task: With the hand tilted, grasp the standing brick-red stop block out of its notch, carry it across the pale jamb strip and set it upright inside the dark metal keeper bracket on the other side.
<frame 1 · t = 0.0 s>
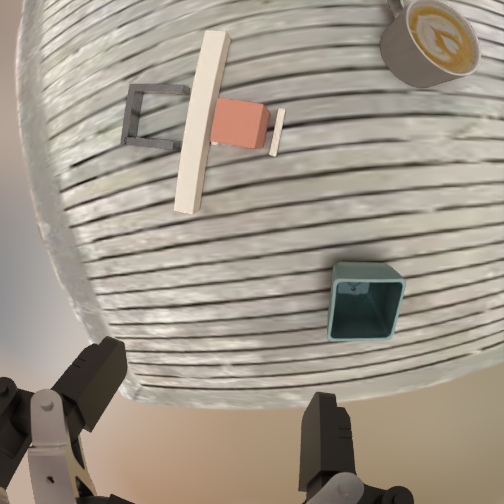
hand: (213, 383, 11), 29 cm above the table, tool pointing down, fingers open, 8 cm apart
keeper bracket: (159, 116, 34), on the table
coffee mug: (408, 44, 26), on the table
flower pot: (353, 277, 40), on the table
stop block: (249, 127, 34), on the table
jamb strip: (204, 120, 34), on the table
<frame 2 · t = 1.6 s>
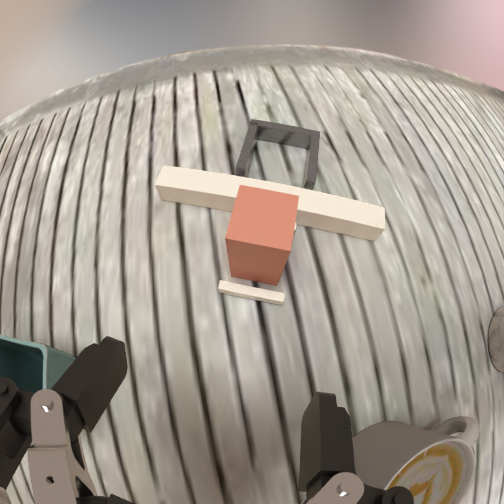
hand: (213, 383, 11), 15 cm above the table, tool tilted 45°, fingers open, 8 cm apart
keeper bracket: (278, 162, 33), on the table
coffee mug: (392, 456, 21), on the table
flower pot: (66, 387, 23), on the table
stop block: (258, 259, 29), on the table
jamb strip: (269, 208, 31), on the table
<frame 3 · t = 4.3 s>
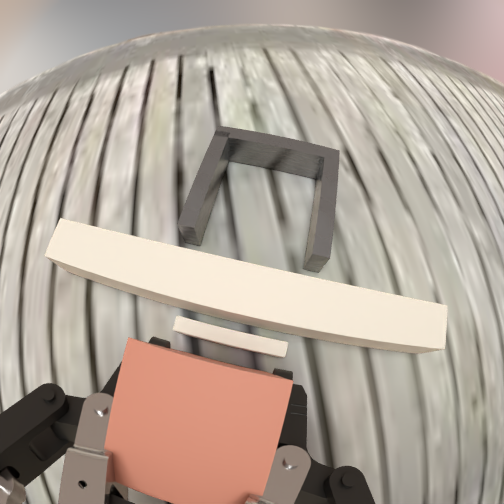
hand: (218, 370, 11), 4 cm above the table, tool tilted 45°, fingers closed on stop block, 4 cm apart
keeper bracket: (263, 206, 19), on the table
stop block: (216, 399, 14), on the table, touching gripper
jamb strip: (240, 300, 17), on the table
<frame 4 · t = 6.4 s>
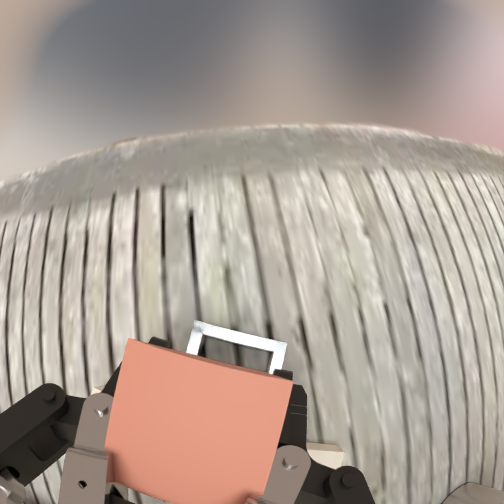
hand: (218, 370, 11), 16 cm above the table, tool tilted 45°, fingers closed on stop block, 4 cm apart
keeper bracket: (230, 376, 26), on the table
stop block: (216, 400, 14), point 12 cm above the table, touching gripper
jamb strip: (214, 436, 23), on the table
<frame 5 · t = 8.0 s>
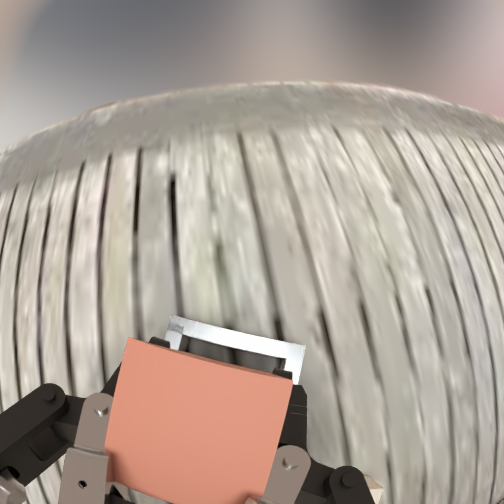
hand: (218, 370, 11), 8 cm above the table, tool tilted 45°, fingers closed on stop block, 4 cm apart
keeper bracket: (224, 393, 18), on the table
stop block: (216, 399, 14), point 4 cm above the table, touching gripper
when the fingers open (6 cm above the table, at t = 8.9 s): stop block drops 1 cm, on the table.
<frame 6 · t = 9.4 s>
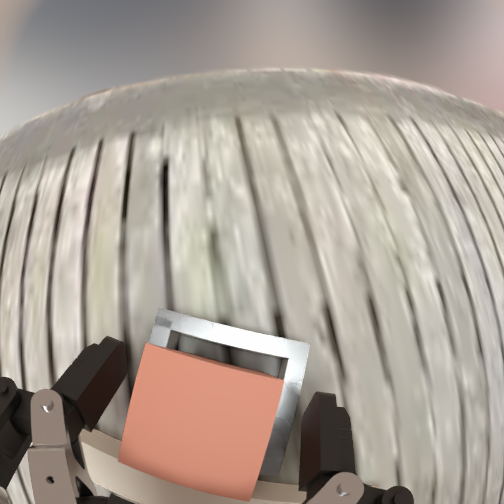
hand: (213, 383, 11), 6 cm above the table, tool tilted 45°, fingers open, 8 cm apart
keeper bracket: (218, 397, 16), on the table
stop block: (218, 397, 16), on the table
jamb strip: (196, 483, 13), on the table
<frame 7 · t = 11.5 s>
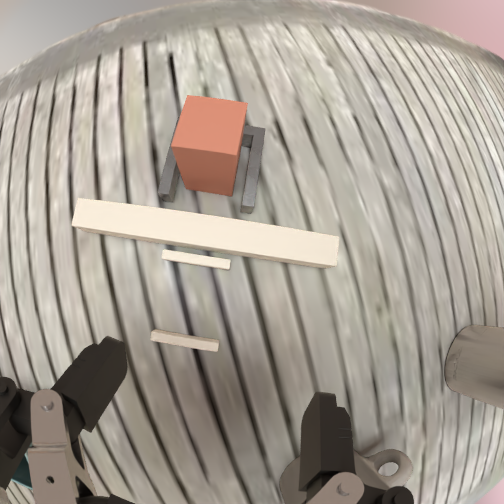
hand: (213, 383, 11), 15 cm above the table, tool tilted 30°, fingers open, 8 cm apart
keeper bracket: (213, 170, 27), on the table
coffee mug: (335, 470, 25), on the table
flower pot: (41, 421, 22), on the table
stop block: (213, 171, 27), on the table
jamb strip: (201, 235, 26), on the table
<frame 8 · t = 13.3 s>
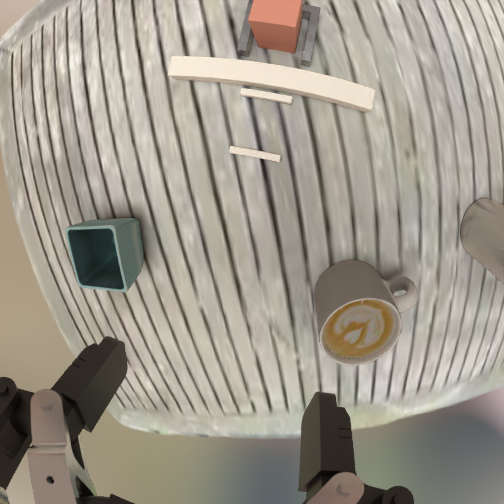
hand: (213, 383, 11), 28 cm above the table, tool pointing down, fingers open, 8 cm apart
keeper bracket: (280, 35, 28), on the table
coffee mug: (360, 288, 39), on the table
flower pot: (128, 235, 41), on the table
stop block: (280, 35, 28), on the table
jamb strip: (270, 79, 30), on the table
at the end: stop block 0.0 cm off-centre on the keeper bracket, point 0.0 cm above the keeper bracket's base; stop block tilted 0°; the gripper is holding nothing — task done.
